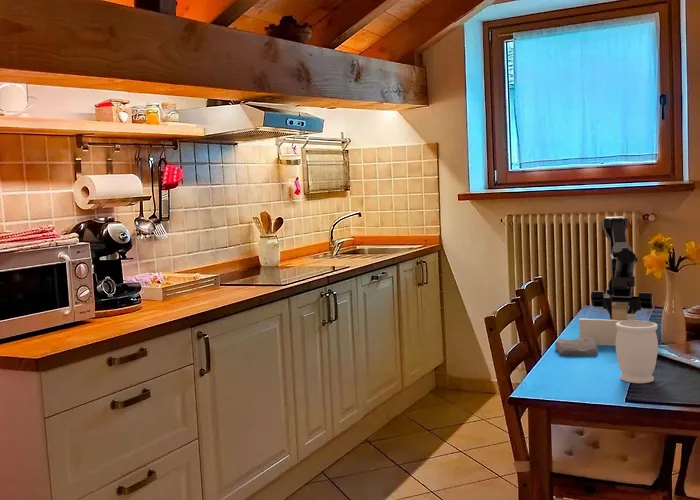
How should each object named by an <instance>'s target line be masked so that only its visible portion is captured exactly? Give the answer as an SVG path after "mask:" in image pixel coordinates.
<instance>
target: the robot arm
mask: <svg viewBox="0 0 700 500" xmlns="http://www.w3.org/2000/svg"><path fill="white" fill-rule="evenodd" d="M628 228H629V219H628V218H625V217H624V216H606V217H605V218H604V219H602V230H604V236H605V237H606V238H607V240H608V241H609V249H610V250H609V253H610V254H609V263H610V268H611V269H610V270H611V272H610V273H611V278H610V279H609V281H608V284H607V288H606V289H605V291H604V290H593V291H592V292H591V293H590V301H591V306H592V307H594V308H602V309H603V310H606V312H607V313H608V315H609V319H608V320H612V304H613V303H614V302H615V303H628V314H636V313H637V312H638V311H641V310H642V309H645V310H646V309H648V310H651V309H653V308H654V299H653V298H654V297H653V296H654V295H653V294H652V292H645V291H639V292H638V296H634V292H633V288H635V287H636V277H635V275H634V271H635V265H636V264H637V262H638V257H637V256H636V254H635V252H633V249H632V247H631V246H630V245H629V244H628V242H627V236H626V230H627V229H628Z"/></svg>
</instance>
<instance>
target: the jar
mask: <svg viewBox="0 0 700 500" xmlns="http://www.w3.org/2000/svg"><path fill="white" fill-rule="evenodd" d="M658 327H659V326H658V324H657V323H656V322H653V321H648V320H638V319H636V320H627V321H620V322H617V323H616V328H617V329H618V331H617V335H616V346H615V352H616V357H617V364H618V366H619V370H620V371H621V374H620V376H619V378H620V380H622V381H623V382H626V383H632V384H648V383H651V382H654V380H655V377H654V376H653V373H654V371H655V368H656V365H657V357H658V353H659V342H658V341H659V340H658V335H657V332H656V331H657V330H658Z"/></svg>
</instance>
